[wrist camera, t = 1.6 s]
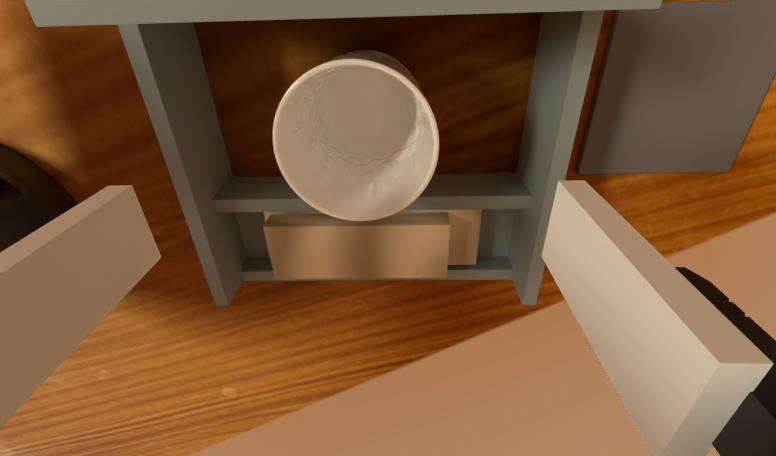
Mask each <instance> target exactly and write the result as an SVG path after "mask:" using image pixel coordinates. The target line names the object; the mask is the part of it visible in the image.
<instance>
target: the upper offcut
mask: <svg viewBox="0 0 776 456" xmlns="http://www.w3.org/2000/svg"><path fill="white" fill-rule="evenodd" d="M263 229H264V233H265V238H266V242H267V246H268V251H269V255H270V259H271V264H272V268H273V272H274V277H275V279H335V278H447V266H448V252H449V237H450V221H449V217H448V213H447V212H429V213H395V214H393V215H390V216H388V217H385V218H381V219H376V220H370V221H350V220H344V219H339V218H335V217H332V216H329V215H327V214H271V215H270V216H269V218H268V220H267V221H266V223H265V225H264V226H263Z"/></svg>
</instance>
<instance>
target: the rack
mask: <svg viewBox="0 0 776 456" xmlns="http://www.w3.org/2000/svg"><path fill="white" fill-rule="evenodd" d="M24 1H25V3H26V5H27V8H28V10H29V12H30V14H31V17H32V19H33V21H34V23H35V26H36V27H47V26H82V25H116V24H117V25H118V28H119V31H120V34H121V36H122V39H123V42H124V45H125V48H126V51H127V54H128V57H129V59H130V62H131V65H132V68H133V71H134V74H135V77H136V79H137V82H138V85H139V88H140V91H141V94H142V97H143V99H144V102H145V105H146V108H147V111H148V114H149V117H150V119H151V122H152V125H153V128H154V131H155V134H156V137H157V139H158V142H159V145H160V148H161V151H162V154H163V157H164V160H165V162H166V165H167V168H168V171H169V174H170V177H171V180H172V182H173V185H174V188H175V191H176V194H177V197H178V200H179V202H180V205H181V208H182V211H183V214H184V217H185V220H186V222H187V225H188V228H189V231H190V234H191V237H192V240H193V242H194V245H195V248H196V251H197V254H198V257H199V260H200V263H201V265H202V268H203V271H204V274H205V277H206V280H207V283H208V285H209V288H210V291H211V294H212V297H213V300H214V303H215V305H216V306H229V305H230V303H231V302H232V300H233V298H234V296H235V294H236V293H237V291H238V289H239V287H240V285H241V284H242V282H243V281H345V280H491V279H511V280H512V282H513V284H514V287H515V289H516V292H517V294H518V296H519V299H520V301H521V304H522V305H536V301H537V297H538V293H539V289H540V284H541V280H542V276H543V272H544V267H545V262H544V260H543V258H542V251H543V247H544V242H545V238H546V234H547V229H548V225H549V220H550V216H551V211H552V207H553V202H554V198H555V193H556V189H557V185H558V181H565V178H566V174H567V169H568V165H569V161H570V157H571V152H572V148H573V144H574V140H575V135H576V131H577V127H578V122H579V118H580V114H581V110H582V105H583V101H584V97H585V93H586V88H587V84H588V80H589V76H590V71H591V67H592V63H593V59H594V54H595V50H596V46H597V42H598V37H599V33H600V29H601V24H602V20H603V16H604V12H605V10H628V9H660V5H661V2H662V0H24ZM526 12H542V15H541V21H540V27H539V33H538V40H537V46H536V52H535V58H534V65H533V71H532V77H531V83H530V89H529V96H528V102H527V108H526V114H525V121H524V127H523V133H522V139H521V146H520V152H519V158H518V164H517V171H516V173H460V174H433V176H432V178H431V180H430V182H429V183H428V185H427V187H426V188H425V189H424V191H423V192H422V193H421V194H420V196H419V197H418V198H417V199H416V200H415V201H413V202H412V203H411V204H410V205H408V206H407V207H406V208H404V209H402V210H463V209H482V216H481V225H480V233H479V242H478V250H477V259H476V265H448V266H447V278H335V279H275V277H274V272H273V268H272V264H271V259H270V255H269V251H268V246H267V242H266V238H265V233H264V229H263V226H264V225H265V223H266V222H265V217H264V213H263V212H306V211H318V210H317V209H315V208H313V207H312V206H310V205H309V204H307V203H306V202H305V201H304V200H302V199H301V198H300V197H299V196H298V195H297V194H296V193H295V192H294V191H293V189H292V188H291V187H290V186H289V184H288V183H287V181H286V180H285V178H284V177H283V176H270V177H233V174H232V170H231V166H230V162H229V158H228V154H227V150H226V146H225V142H224V139H223V135H222V131H221V127H220V123H219V119H218V115H217V111H216V107H215V103H214V100H213V96H212V92H211V88H210V84H209V80H208V76H207V72H206V68H205V65H204V61H203V57H202V53H201V49H200V45H199V41H198V37H197V33H196V29H195V26H194V22H218V21H252V20H287V19H321V18H355V17H389V16H423V15H458V14H492V13H526Z"/></svg>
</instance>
